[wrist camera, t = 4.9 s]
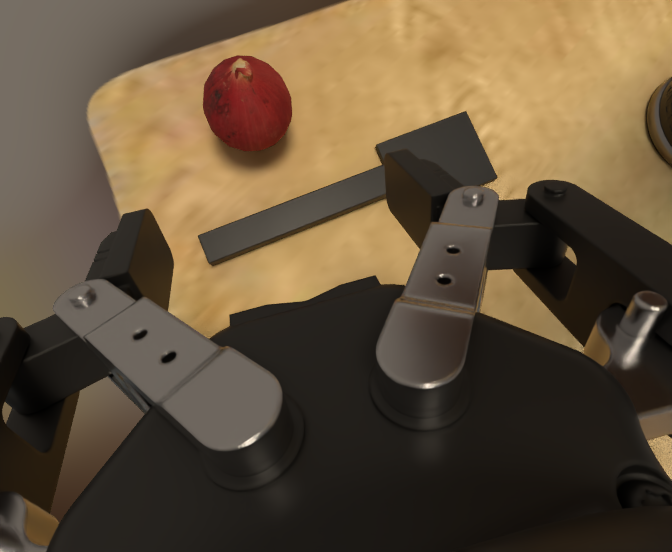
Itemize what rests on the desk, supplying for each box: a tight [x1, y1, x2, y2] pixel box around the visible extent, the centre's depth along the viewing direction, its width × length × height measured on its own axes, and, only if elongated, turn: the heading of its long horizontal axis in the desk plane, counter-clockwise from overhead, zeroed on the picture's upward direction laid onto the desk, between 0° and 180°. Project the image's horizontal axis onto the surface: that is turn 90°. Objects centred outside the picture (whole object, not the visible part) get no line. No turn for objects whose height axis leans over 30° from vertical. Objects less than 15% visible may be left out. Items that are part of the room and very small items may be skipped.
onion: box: [203, 56, 292, 151], centre depth 26 cm, size 6×6×8 cm
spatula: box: [198, 111, 497, 266], centre depth 29 cm, size 23×6×1 cm, turn 113°
